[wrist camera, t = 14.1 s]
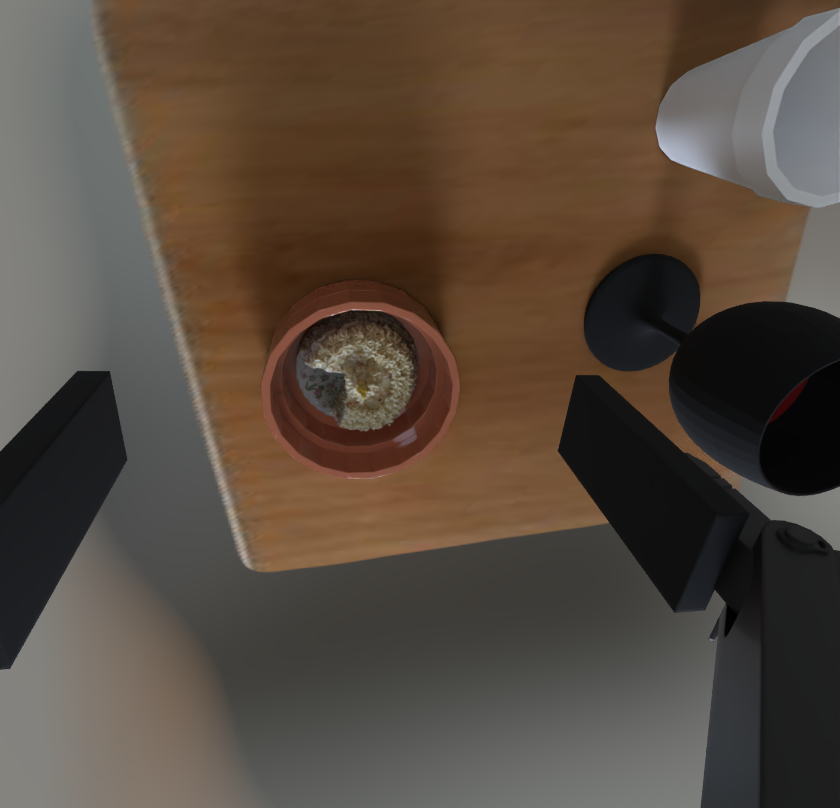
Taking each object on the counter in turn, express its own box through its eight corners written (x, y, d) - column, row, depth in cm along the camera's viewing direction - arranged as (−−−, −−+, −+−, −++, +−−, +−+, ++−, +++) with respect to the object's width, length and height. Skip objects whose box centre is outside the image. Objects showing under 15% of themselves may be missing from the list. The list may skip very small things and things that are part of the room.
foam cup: (650, 37, 36) (797, -7, 25) (773, 40, 37) (968, -1, 26) (626, 187, 40) (742, 210, 29) (737, 185, 42) (890, 206, 30)
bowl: (264, 274, 39) (255, 298, 34) (452, 282, 42) (471, 305, 36) (272, 439, 46) (266, 481, 40) (434, 437, 48) (448, 476, 43)
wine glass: (683, 366, 49) (883, 499, 31) (575, 374, 47) (720, 517, 30) (711, 250, 44) (965, 329, 26) (592, 255, 43) (775, 341, 25)
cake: (381, 280, 41) (394, 298, 36) (436, 382, 46) (454, 409, 41) (269, 345, 41) (267, 370, 36) (335, 439, 46) (342, 473, 41)
